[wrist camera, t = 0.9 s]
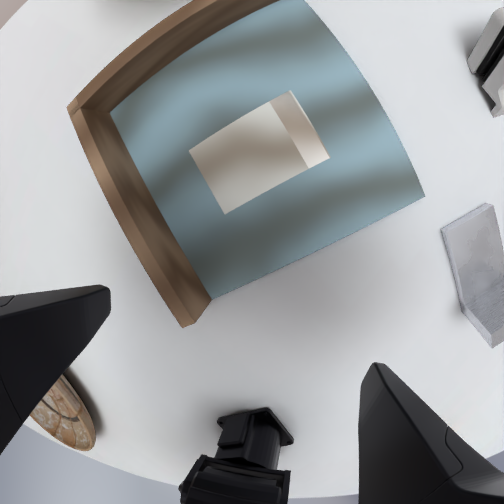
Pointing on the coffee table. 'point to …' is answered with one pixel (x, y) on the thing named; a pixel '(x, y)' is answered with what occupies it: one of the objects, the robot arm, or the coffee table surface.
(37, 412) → the ceramic bowl
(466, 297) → the aluminium bracket
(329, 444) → the coffee table surface
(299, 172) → the corner arena
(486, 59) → the grey arched casing
